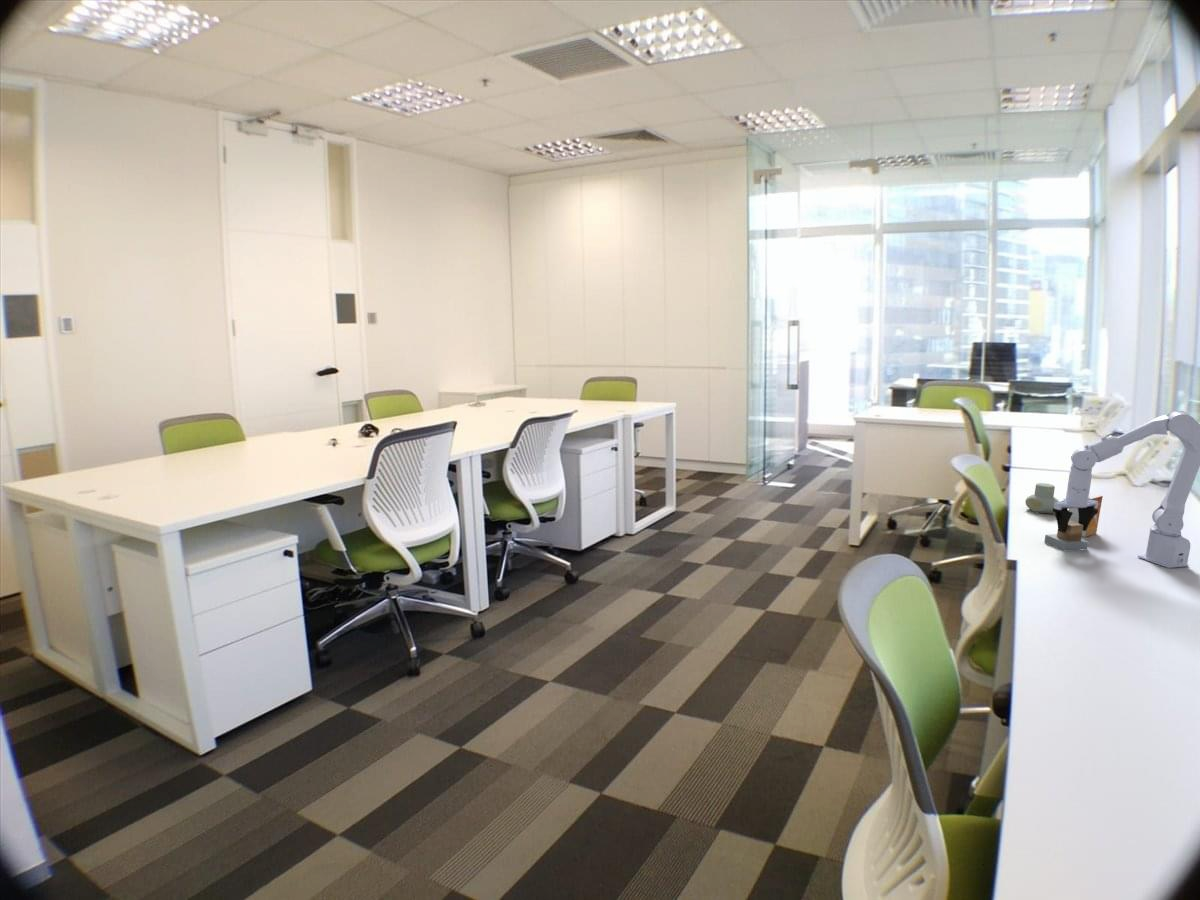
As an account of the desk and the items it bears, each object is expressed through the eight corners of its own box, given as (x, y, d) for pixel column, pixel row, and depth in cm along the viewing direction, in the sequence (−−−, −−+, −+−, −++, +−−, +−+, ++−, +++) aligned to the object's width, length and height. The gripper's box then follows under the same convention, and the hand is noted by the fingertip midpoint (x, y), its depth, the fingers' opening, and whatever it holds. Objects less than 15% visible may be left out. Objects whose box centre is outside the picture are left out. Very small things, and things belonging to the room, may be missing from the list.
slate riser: (1086, 551, 224) (1088, 541, 223) (1064, 552, 222) (1065, 542, 222) (1066, 542, 232) (1067, 533, 231) (1044, 543, 230) (1045, 534, 230)
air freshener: (1063, 514, 261) (1067, 487, 259) (1047, 516, 258) (1051, 489, 256) (1035, 506, 271) (1039, 480, 269) (1020, 508, 268) (1023, 482, 266)
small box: (1085, 537, 235) (1091, 498, 233) (1064, 532, 241) (1070, 494, 238) (1097, 533, 240) (1103, 495, 237) (1076, 528, 245) (1082, 491, 242)
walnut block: (1080, 540, 224) (1083, 525, 223) (1069, 541, 223) (1071, 525, 222) (1068, 536, 229) (1070, 520, 228) (1056, 536, 228) (1059, 521, 227)
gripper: (1086, 483, 228) (1079, 525, 230) (1048, 485, 224) (1042, 528, 227) (1106, 489, 221) (1099, 532, 224) (1067, 491, 218) (1061, 535, 220)
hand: (1072, 530), depth 225 cm, fingers open, 7 cm apart
